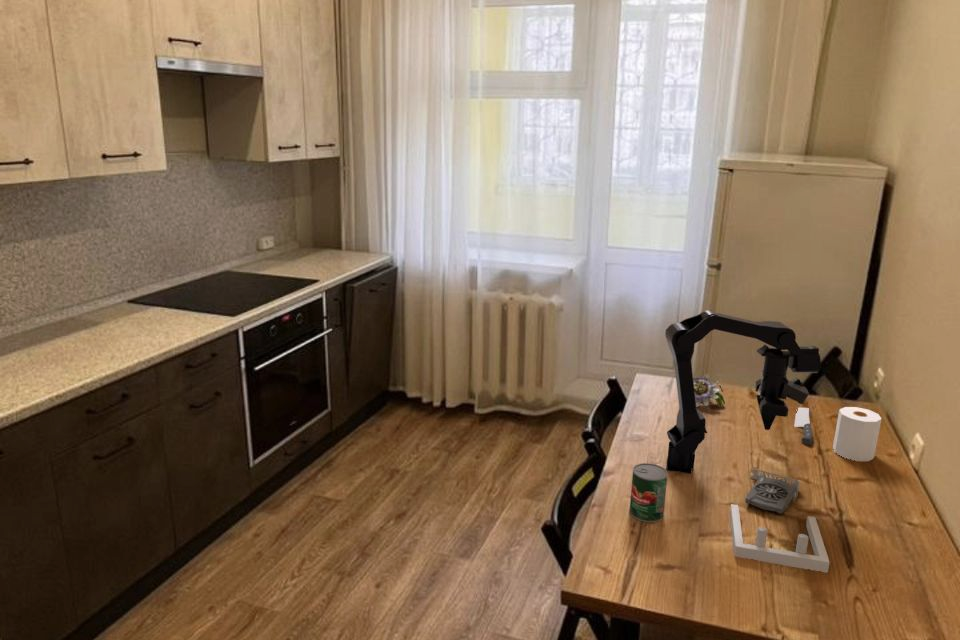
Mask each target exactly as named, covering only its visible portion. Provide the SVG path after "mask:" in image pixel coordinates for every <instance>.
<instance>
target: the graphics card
mask: <svg viewBox="0 0 960 640" xmlns="http://www.w3.org/2000/svg"><path fill="white" fill-rule="evenodd" d="M750 473H752V474H753V475H752V474H750V475H749V478H750V479H752V480H756V482H755V483H754V484H753V486H752V487H751V489H750V491H749V492H748V494H747V496H746V497H745V500H744V501H745V504H747V505H751V506H754V507H757V508H759V509H761V510H765V511H768V512H770V513H774V512H776V513H777V514H783V513H784V511H786V509H787V508H788V506H790V505H789V504H790V503H791V501H793V502H795V501H796V500H797V497H798V495H799V494H800V493H799V491H800V484H801V479H799V480H798V479H795V478H792V477H788V476H783V475H780V474H777V473H772V472H769V471H766V470H761V469H758V468H754V469H752V468H750ZM766 474H767V475H766ZM770 475H771V476H770ZM774 476H775V477H774Z"/></svg>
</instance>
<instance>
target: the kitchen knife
mask: <svg viewBox="0 0 960 640" xmlns="http://www.w3.org/2000/svg"><path fill="white" fill-rule="evenodd" d="M797 408H798V411H797V410H796V411H797V413H796V412H795V417H794V425H793V426H794V428H803V430H802V435H803V436H802V437H801V443H802V444H803V445H806V446H812V444H813V442H814V433H813V430H812V429H813V428H812V426H811V422H810V408H809V407H797Z"/></svg>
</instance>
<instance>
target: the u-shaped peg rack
mask: <svg viewBox="0 0 960 640" xmlns="http://www.w3.org/2000/svg"><path fill="white" fill-rule="evenodd" d="M739 509H740V507H739V505H738V504H732V503H731V504H730V509H729V519H730V521H729V522H730V531H731V538H732V549H733V557H734V556H735V558H740V557H741V558H742V559H746V558H748V559H747V560H751V559H754V560H753V561H757V560H758V562H762V563H763V562H764V563H770V564H773V565H774V564H775V565H781V566H787V567H793V568H797V569H802V568H803V569H804V570H808V569H810V571H814V570H815V572H819V571H821V573H826V574H827V573H829V567H830V564H831V563H830V560H829V559H830V558H829V556H828V553H827V550H826V547H825V545H824V544H825V543H824V540H823V538H822V535H821V531H820V528H819V525H818V522H817V519H816V518H817V517H815V516H809V515H808V516H807V517H806V525H805V528H806V530H807V534H808V535H807V534H804V533H798V535H797V541H796V546H795V551H790V550H785V549H780V548H773V547H767V546H766V542H767V537H768V529H767V528H765V527H762V526H759V527H757V529H756V537H755V544H748V543H744V540H743V533H742V524H741V517H740V510H739ZM809 541H810V544H811V548H812V551H813V554H808V553H807V549H808V543H809Z"/></svg>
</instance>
